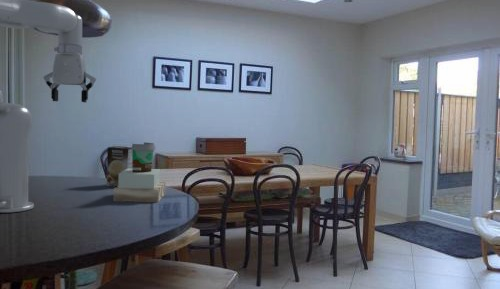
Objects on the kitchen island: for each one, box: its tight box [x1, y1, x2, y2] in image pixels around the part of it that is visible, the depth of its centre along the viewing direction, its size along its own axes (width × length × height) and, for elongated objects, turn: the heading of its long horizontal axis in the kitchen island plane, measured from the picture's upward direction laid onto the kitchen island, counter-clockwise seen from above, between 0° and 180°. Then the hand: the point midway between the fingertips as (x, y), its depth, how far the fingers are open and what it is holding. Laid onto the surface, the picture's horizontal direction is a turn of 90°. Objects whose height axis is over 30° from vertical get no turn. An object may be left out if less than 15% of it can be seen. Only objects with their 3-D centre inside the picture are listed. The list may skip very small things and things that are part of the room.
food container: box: [131, 141, 156, 172], centre depth 158 cm, size 12×6×10 cm, turn 173°
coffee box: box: [106, 146, 132, 187], centre depth 183 cm, size 9×6×16 cm
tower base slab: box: [113, 181, 166, 203], centre depth 158 cm, size 17×15×5 cm
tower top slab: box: [118, 168, 161, 189], centre depth 158 cm, size 16×12×5 cm
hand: (69, 101), depth 151 cm, fingers open, 9 cm apart
